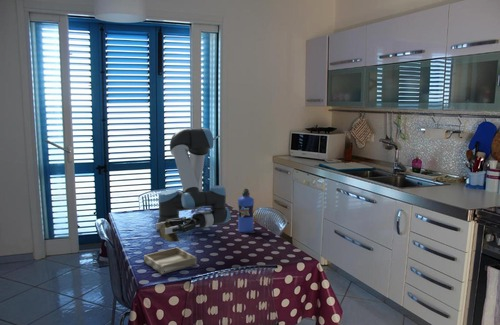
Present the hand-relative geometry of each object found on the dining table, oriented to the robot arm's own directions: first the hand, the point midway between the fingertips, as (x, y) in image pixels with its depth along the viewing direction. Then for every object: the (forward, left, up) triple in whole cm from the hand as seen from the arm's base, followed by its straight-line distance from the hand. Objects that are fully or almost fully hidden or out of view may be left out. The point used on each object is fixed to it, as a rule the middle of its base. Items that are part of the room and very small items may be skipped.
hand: (160, 228), depth 193 cm
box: (+1, +4, -18) cm, 18 cm away
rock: (+1, +4, -6) cm, 8 cm away
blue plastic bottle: (+5, +66, -18) cm, 69 cm away
